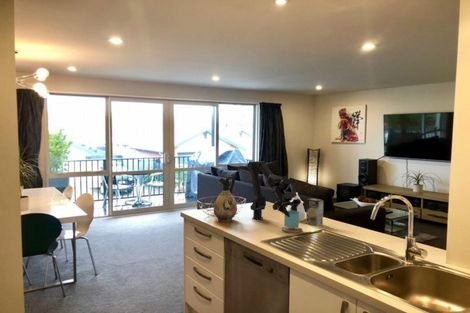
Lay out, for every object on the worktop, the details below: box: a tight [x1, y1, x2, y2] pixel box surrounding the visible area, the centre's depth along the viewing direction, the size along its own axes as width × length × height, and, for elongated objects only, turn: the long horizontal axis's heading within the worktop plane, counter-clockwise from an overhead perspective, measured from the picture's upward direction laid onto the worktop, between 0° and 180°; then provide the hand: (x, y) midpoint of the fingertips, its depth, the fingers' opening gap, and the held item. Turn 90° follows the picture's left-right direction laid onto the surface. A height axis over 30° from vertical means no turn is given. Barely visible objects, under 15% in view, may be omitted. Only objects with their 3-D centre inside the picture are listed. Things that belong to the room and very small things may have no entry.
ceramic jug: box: [213, 175, 238, 223], centre depth 229 cm, size 17×15×30 cm
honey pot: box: [286, 192, 306, 222], centre depth 237 cm, size 13×13×18 cm
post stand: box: [281, 226, 303, 234], centre depth 206 cm, size 12×12×4 cm
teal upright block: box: [283, 210, 300, 228], centre depth 206 cm, size 6×6×9 cm
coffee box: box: [305, 197, 324, 227], centre depth 222 cm, size 9×6×16 cm
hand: (293, 216), depth 205 cm, fingers closed on teal upright block, 6 cm apart
